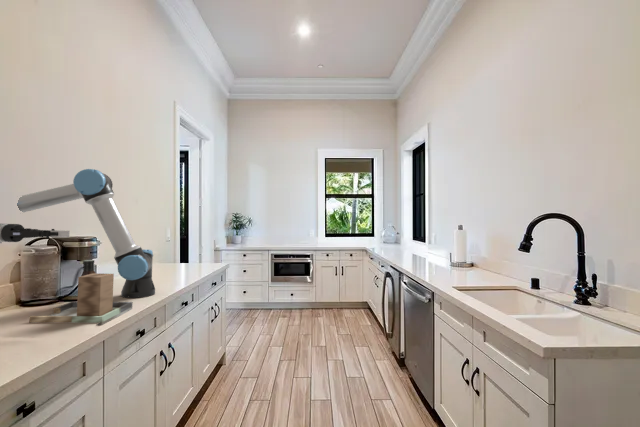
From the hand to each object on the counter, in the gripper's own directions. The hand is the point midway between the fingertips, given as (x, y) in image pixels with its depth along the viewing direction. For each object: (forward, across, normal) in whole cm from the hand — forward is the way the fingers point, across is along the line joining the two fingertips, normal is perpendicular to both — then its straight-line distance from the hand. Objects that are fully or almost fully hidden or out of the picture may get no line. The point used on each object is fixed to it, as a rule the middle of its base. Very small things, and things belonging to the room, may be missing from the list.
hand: (68, 234), depth 131 cm
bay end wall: (+25, +12, -32) cm, 42 cm away
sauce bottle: (+3, -10, -32) cm, 34 cm away
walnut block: (+19, +12, -31) cm, 38 cm away
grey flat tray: (+13, +7, -32) cm, 35 cm away
